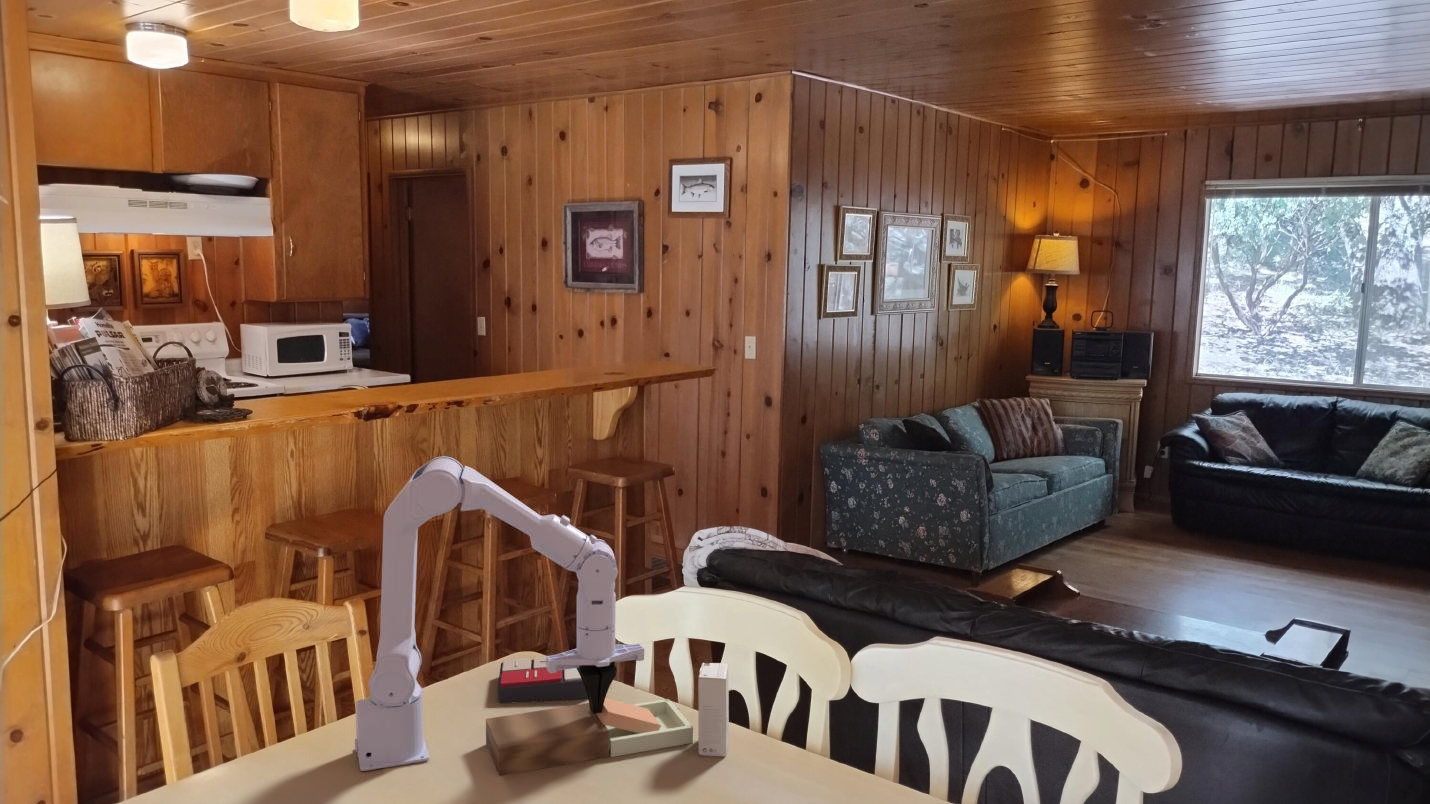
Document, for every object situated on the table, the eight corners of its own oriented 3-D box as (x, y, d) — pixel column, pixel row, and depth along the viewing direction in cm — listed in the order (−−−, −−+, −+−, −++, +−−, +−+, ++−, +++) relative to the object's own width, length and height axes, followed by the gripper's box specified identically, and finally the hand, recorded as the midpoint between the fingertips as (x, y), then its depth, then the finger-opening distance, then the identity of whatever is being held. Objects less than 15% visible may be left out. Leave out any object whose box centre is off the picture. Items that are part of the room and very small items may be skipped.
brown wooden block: (499, 775, 148) (498, 748, 147) (486, 744, 157) (485, 718, 156) (608, 756, 154) (608, 730, 153) (589, 727, 163) (589, 702, 162)
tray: (611, 756, 154) (611, 740, 153) (591, 725, 163) (591, 710, 163) (692, 742, 159) (693, 727, 158) (668, 713, 168) (668, 698, 168)
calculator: (500, 657, 181) (588, 649, 183) (502, 681, 182) (589, 673, 184) (496, 684, 170) (589, 675, 172) (498, 708, 171) (591, 700, 173)
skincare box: (727, 757, 154) (728, 679, 152) (696, 755, 155) (697, 677, 153) (729, 737, 160) (730, 662, 159) (700, 736, 161) (701, 661, 159)
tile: (603, 724, 155) (608, 711, 155) (591, 707, 161) (596, 695, 161) (656, 737, 159) (661, 725, 159) (643, 720, 164) (648, 708, 164)
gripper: (554, 639, 149) (554, 729, 151) (651, 627, 155) (650, 714, 157) (542, 622, 155) (543, 709, 158) (636, 611, 161) (635, 695, 163)
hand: (595, 710), depth 157 cm, fingers closed
